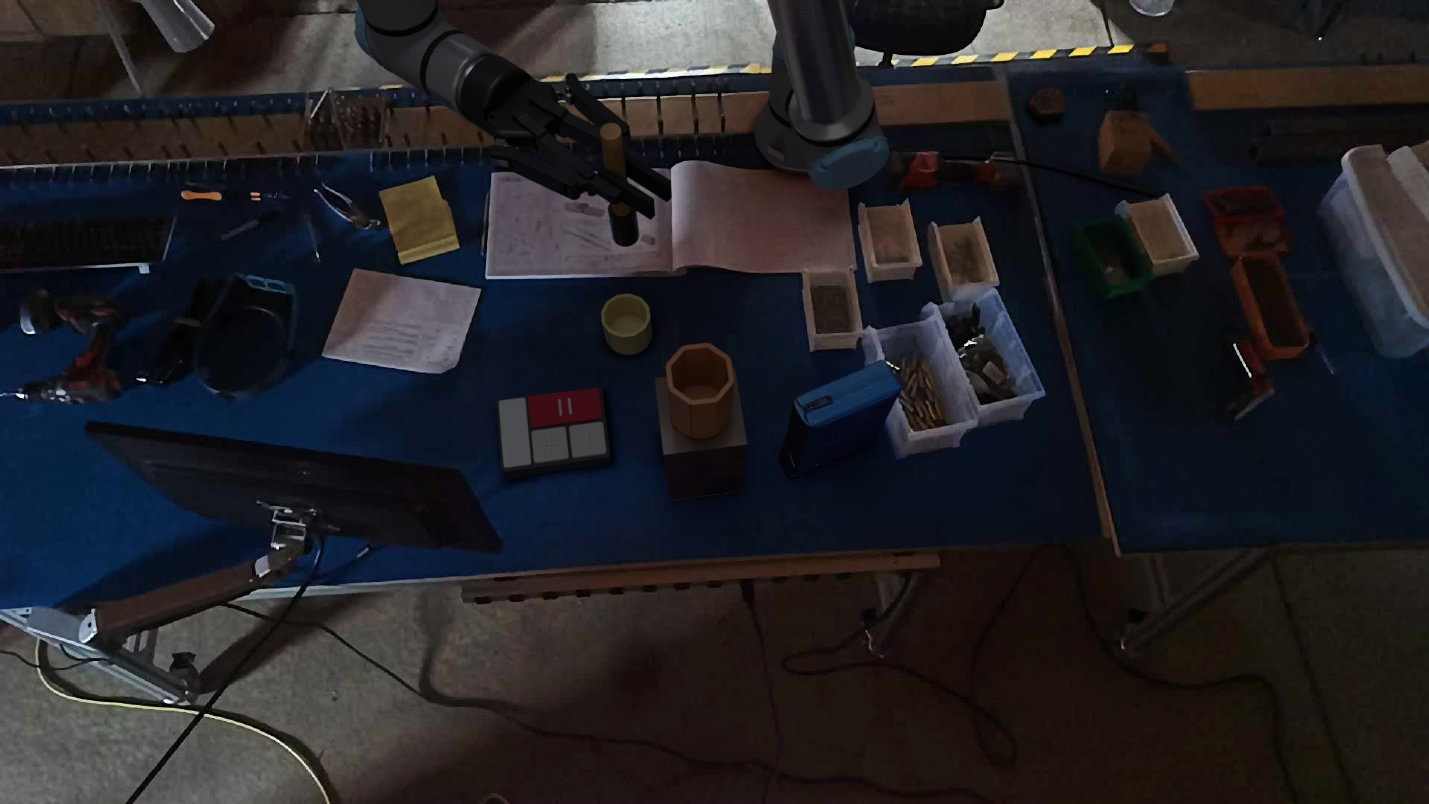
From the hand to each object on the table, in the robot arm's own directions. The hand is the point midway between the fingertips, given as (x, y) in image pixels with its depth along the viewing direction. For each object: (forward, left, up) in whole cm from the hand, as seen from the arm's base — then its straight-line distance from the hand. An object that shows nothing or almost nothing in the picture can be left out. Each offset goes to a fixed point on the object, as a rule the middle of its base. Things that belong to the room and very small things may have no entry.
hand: (660, 200), depth 83 cm
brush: (+4, -4, -11) cm, 12 cm away
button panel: (+18, +5, -45) cm, 49 cm away
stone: (-69, -44, -45) cm, 93 cm away
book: (-20, +12, -45) cm, 51 cm away
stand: (-2, +12, -45) cm, 47 cm away
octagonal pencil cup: (-2, +12, -25) cm, 28 cm away
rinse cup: (+6, -10, -45) cm, 46 cm away
